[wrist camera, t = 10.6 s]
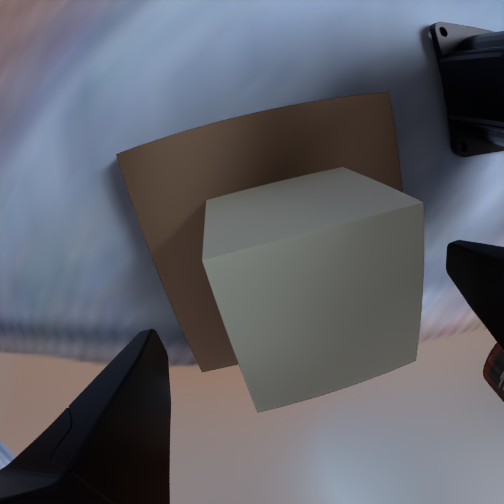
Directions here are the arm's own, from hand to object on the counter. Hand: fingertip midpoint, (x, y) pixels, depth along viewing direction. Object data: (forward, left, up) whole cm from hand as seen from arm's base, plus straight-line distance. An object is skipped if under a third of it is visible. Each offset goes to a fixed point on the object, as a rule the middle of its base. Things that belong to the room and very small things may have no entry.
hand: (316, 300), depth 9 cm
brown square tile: (0, 0, -5) cm, 5 cm away
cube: (0, 0, -4) cm, 4 cm away
